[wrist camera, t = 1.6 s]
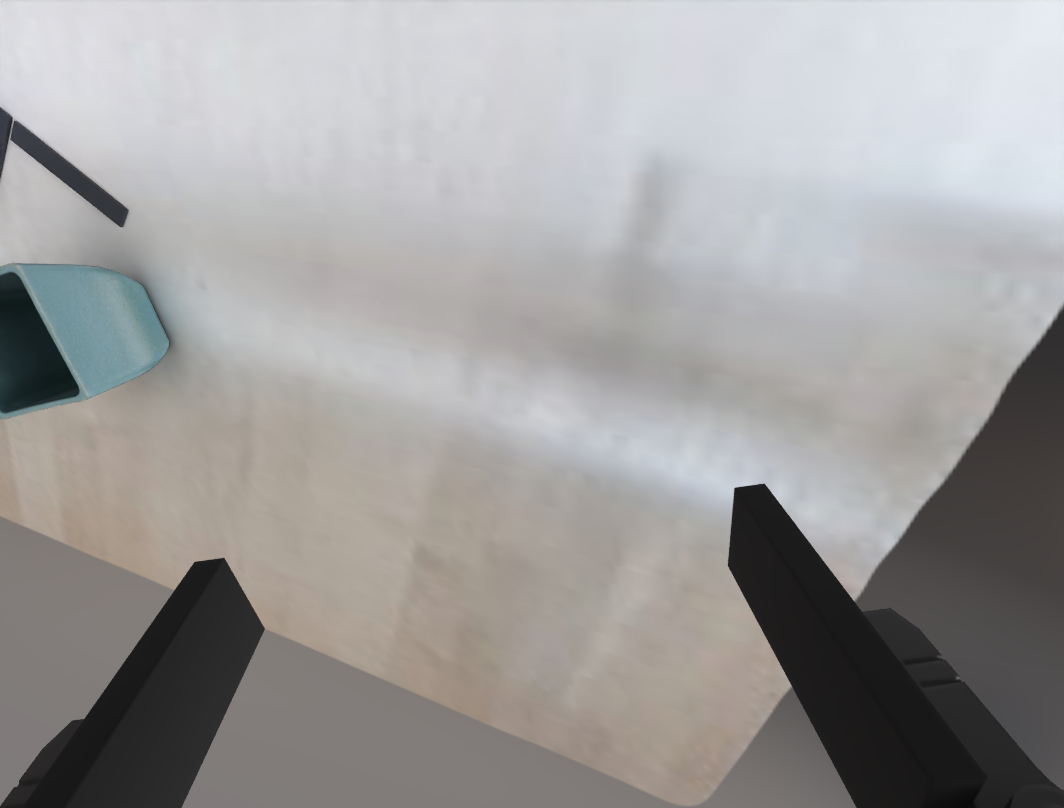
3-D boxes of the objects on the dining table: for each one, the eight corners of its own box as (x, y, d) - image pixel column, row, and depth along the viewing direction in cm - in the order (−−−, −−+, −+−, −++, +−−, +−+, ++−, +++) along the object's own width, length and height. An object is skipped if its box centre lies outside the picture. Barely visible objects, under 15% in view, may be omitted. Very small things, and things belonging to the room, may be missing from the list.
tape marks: (-2, 106, 36) (-5, 105, 36) (128, 209, 37) (125, 210, 37) (-34, 277, 43) (-37, 277, 42) (78, 363, 43) (75, 364, 43)
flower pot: (150, 250, 38) (12, 260, 30) (202, 362, 40) (88, 400, 32) (70, 278, 40) (-79, 294, 32) (123, 381, 43) (-2, 421, 35)
